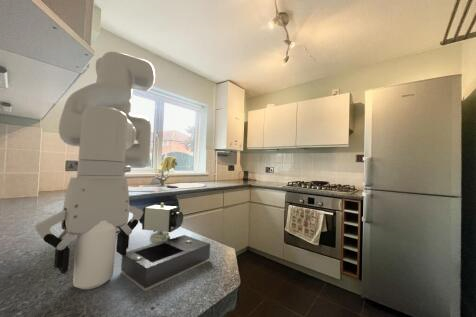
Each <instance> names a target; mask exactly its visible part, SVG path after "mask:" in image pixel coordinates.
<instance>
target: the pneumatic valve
mask: <svg viewBox="0 0 476 317" xmlns="http://www.w3.org/2000/svg"><path fill="white" fill-rule="evenodd" d="M180 209H181V207H180V206H171V205H165V203H164V202H160V205H159V204H152V205H148V206H144V207H143V209H142V210H141V211H143V215H142V216H141V218H140V220H139V221H138V223H140V224H141V229H142V230H143V231H153V233H152V234H150V237H149V242H150V245H152V244H155V243H159V242H162V241H165V240H169V239H171V236H170V233H172V232H174V231H175V230H177V229H179V228H180V227H181V226H182V224H183V222H184V213H183V212H182V211H181V210H180Z"/></svg>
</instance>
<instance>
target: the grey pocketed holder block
mask: <svg viewBox="0 0 476 317" xmlns="http://www.w3.org/2000/svg"><path fill="white" fill-rule="evenodd" d="M210 257H211V243H208V242H206V241H203V240H201V239H197V238H193V237H192V236H188V235H185V234H183V235H180V236H177V237H172V238H170V239H169V240H165V241H162V242H159V243H155V244H152V245H151V244H148V245H145V246H142V247H138V248H135V249H131V250H126V255H121V268H120V273H121V274H122V275H123V276H124V277H126V278H127V279H128V280H130V281H131V282H132V283H134V284H135V285H136V286H138V287H139V288H140V289H141V290H142V291H144V292H147V291H149V290H151V289H153V288H156V287H158V286H159V285H161V284H164V283H165V282H169V281H171V280H172V279H175V278H176V277H179V276H180V275H182V274H185V273H187V272H189V271H192V270H193V269H195V268H197V267H199V266H202V265H204V264H206V263H208V262H209V261H210V260H211V259H210Z"/></svg>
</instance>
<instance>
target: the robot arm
mask: <svg viewBox="0 0 476 317" xmlns="http://www.w3.org/2000/svg"><path fill="white" fill-rule="evenodd" d="M95 72H96V82H94V83H90V84H88V85H86V86H84V87H82V88H80V89H78V90H76V91H74V92H72V93H71V94H70V95H69V97H68V98H67V99H66V101H65V103H64V106H63V109H62V112H61V116H60V118H59V119H60V120H59V123H58V134H59V138H60V139H61V140H62V141H63V143H65V144H66V145H69V146H72V147H78V160H77V170H76V177H70V179H69V182H68V185H67V188H66V191H65V192H66V193H65V196H64V201H63V206H62V207H63V208H62V210H61V211H60V212H58V213H56V214H53V215H52V216H49V217H47V218H46V219H44V220H42V221H40V222H39V223H36V224H35V225H34V227H33V229H34V230H35V231H36V232H37V233H38V235H39V236H40V238H41V239H42V240H43V241H44V242H45V243H47V244H48V245H49V246H51V247H53V248H55V249H54V250H55V251H54V260H53V261H54V262H53V263H54V264H53V267H54V269H57V270H58V271H59V272H60V273H61V274H62V275H63V274H66V273H67V272H69V265H70V263H69V262H70V252H71V250H70V248H69V244H70V243H71V242H72V241H73V240H74V239H75V237H77V235H78V234H84V233H86V232H89V231H90V230H91V229H92V228H93V227H94V226H96V225H98V224H99V223H100V221H105V220H106V221H107V223H110V224H112V225H113V226H114V227H117V228H116V246H115V253H117V254H119V255H121V256H122V255H126V252H127V251H128V250H127V249H129V242H130V235H131V234H132V232H133V230H134V229H135V228H136V226H137V225H138V224H139V220H140V218H141V216H142V215H143V211H142V210H141V209H140V208H137V207H135V206H132V205H130V192H129V185H128V179H127V176H126V173H131V170H132V169H143V168H146V167H148V165H149V161H150V154H151V153H150V152H151V138H152V137H151V133H152V127H151V126H152V125H151V121H150V119H149V118H148V117H147V116H143V115H138V114H132V113H131V109H132V101H131V99H132V97H133V96H132V95H133V90H136V91H138V90H139V91H142V92H148V91H150V90H151V89H152V88H153V86H154V85H155V80H156V73H155V68H154V66H153V64H152V63H151V62H150V61H148V60H146V59H143V58H140V57H138V56H137V57H136V56H133V55H129V54H125V53H122V52H118V51H108V52H105V53H104V54H103V55H102V57H99V58H97V59H96V61H95ZM130 214H132V217H131V219H129V218H130V217H129V216H130ZM59 223H60V227H61V229H62V230H63V231H62V232H61V233H60V234H59V235H58V236H56V235H54V234H53V233H52V231H51V228H52V227H53V226H56V225H57V224H59Z"/></svg>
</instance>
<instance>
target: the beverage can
mask: <svg viewBox="0 0 476 317" xmlns="http://www.w3.org/2000/svg"><path fill="white" fill-rule="evenodd" d="M116 228H117V227H114V226H113V225H112V224H110V223H107V221H106V220H105V221H100V223H99V224H98V225H96V226H94V227H93V228H92V229H91V230H90V231H89V232H86V233H84V234H78V235H76V242H75V252H74V261H73V262H74V264H73V275H72V285H73V287H75V288H78V289H81V290H91V289H92V290H93V289H95V288H98V287H101V286H102V285H104V284H105V283H106V282H108V281H109V280H110V279H111V278H112V277H113V274H114V265H115V253H116V243H117V232H116Z"/></svg>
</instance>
